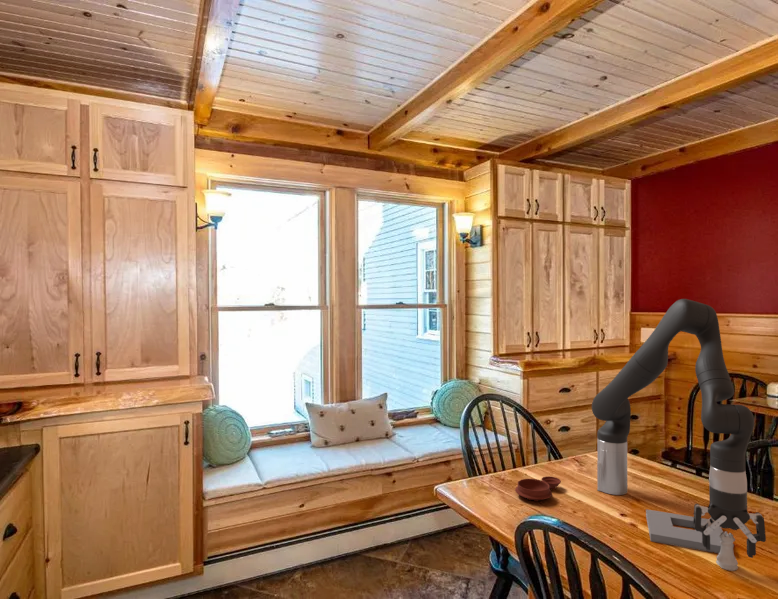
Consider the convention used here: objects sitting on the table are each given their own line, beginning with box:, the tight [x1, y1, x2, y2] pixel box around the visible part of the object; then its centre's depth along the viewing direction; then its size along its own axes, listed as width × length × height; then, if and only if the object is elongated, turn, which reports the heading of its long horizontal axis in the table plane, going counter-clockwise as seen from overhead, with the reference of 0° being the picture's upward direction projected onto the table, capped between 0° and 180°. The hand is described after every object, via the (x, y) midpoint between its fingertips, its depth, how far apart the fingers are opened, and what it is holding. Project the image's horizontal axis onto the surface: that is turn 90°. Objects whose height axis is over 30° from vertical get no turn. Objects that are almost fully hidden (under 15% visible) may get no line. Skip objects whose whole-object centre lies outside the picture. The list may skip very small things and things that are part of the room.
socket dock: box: [645, 509, 723, 554], centre depth 132 cm, size 18×16×2 cm
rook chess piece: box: [715, 530, 739, 572], centre depth 116 cm, size 4×4×8 cm
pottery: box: [514, 476, 562, 502], centre depth 159 cm, size 12×20×4 cm, turn 131°
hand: (728, 552), depth 116 cm, fingers open, 8 cm apart
